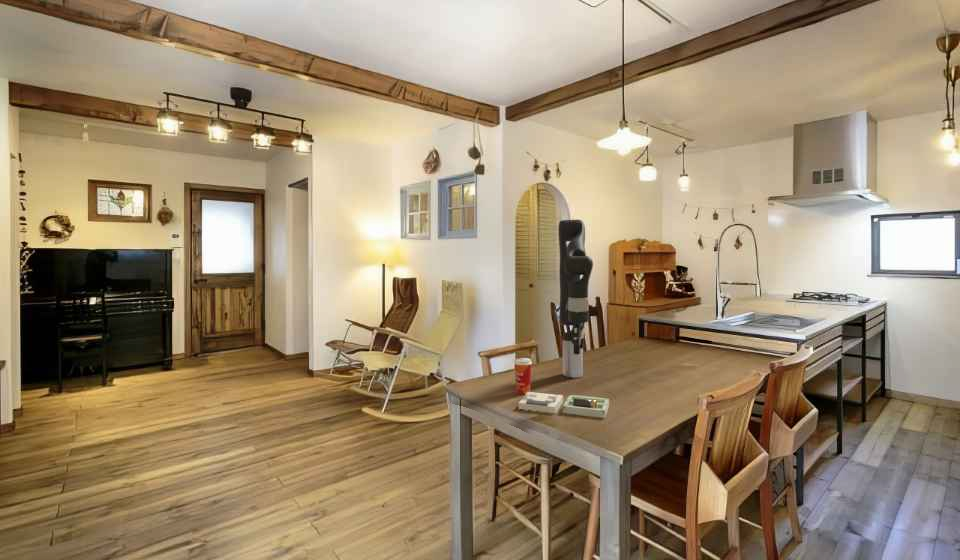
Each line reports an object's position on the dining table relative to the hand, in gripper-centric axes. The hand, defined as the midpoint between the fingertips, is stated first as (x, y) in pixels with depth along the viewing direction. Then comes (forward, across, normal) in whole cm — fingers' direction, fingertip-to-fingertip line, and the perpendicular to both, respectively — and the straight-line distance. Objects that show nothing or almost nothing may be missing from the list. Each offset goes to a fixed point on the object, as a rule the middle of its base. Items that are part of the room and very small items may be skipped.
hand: (578, 351), depth 173 cm
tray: (+21, +4, +3) cm, 22 cm away
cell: (+19, +7, +3) cm, 21 cm away
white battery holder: (+21, +5, -14) cm, 26 cm away
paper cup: (+22, -8, -24) cm, 34 cm away
